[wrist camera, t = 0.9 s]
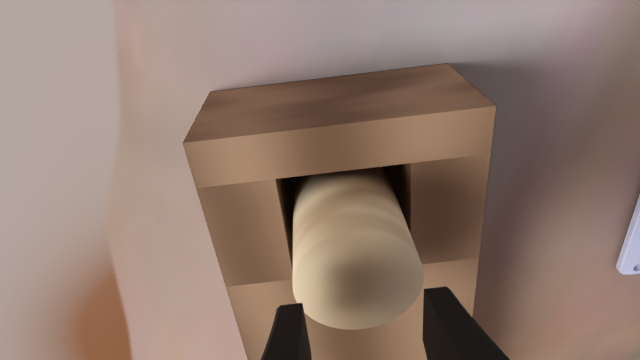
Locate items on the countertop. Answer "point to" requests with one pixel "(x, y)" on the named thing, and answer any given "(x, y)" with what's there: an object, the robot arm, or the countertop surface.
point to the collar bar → (333, 156)
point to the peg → (352, 250)
